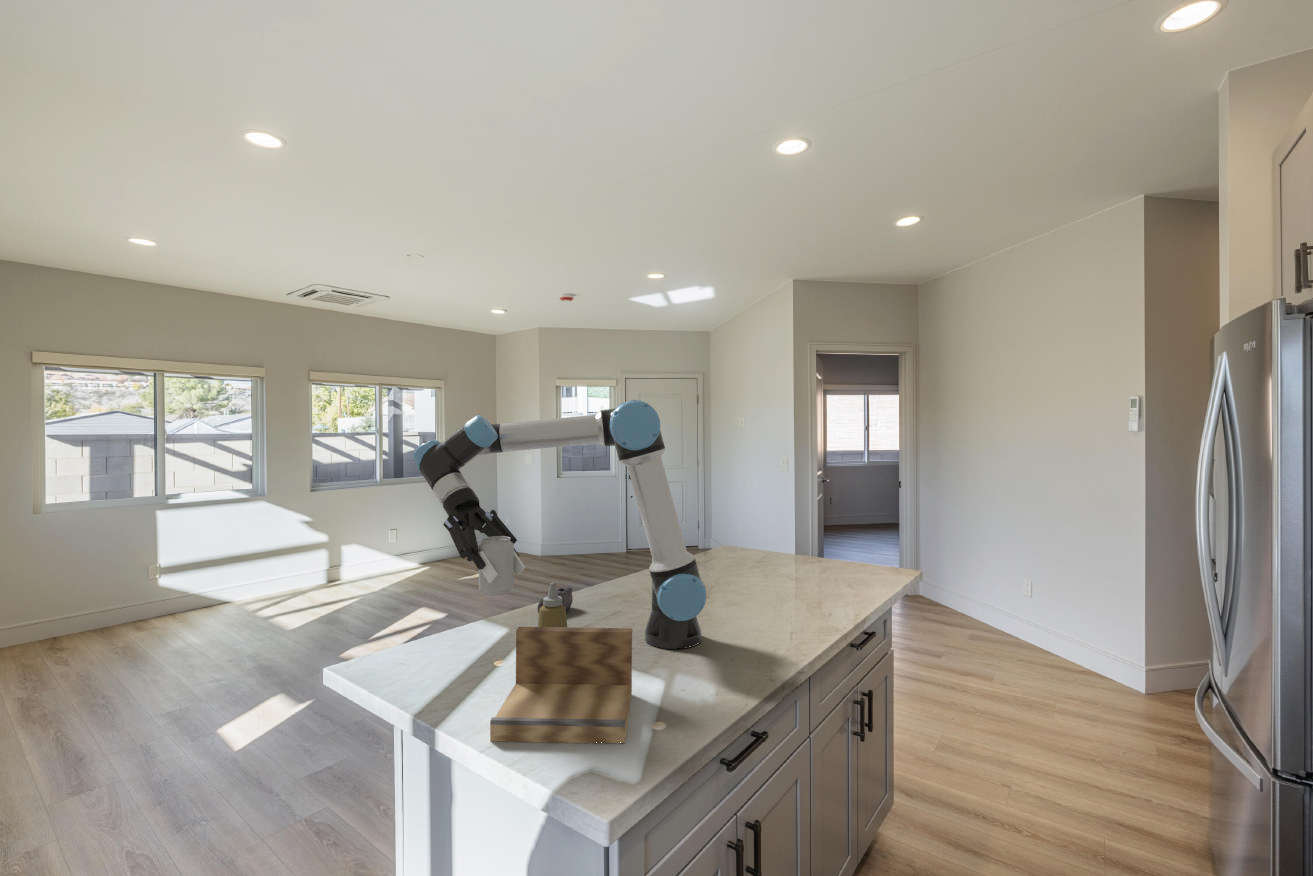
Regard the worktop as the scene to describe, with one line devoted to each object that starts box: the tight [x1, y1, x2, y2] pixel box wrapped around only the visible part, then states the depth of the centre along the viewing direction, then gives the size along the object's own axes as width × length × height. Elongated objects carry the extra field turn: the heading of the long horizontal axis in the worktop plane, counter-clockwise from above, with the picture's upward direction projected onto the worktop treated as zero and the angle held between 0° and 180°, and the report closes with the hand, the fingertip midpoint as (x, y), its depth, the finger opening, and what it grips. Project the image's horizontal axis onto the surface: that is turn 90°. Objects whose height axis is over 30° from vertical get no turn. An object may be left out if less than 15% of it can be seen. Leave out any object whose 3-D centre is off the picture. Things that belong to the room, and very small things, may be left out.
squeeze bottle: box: [537, 582, 568, 627], centre depth 146 cm, size 8×8×18 cm
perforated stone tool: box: [537, 585, 573, 614], centre depth 181 cm, size 15×5×7 cm, turn 147°
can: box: [478, 536, 515, 597], centre depth 130 cm, size 8×8×12 cm
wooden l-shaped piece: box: [489, 626, 633, 744], centre depth 115 cm, size 24×20×14 cm
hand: (507, 575), depth 129 cm, fingers closed on can, 7 cm apart
